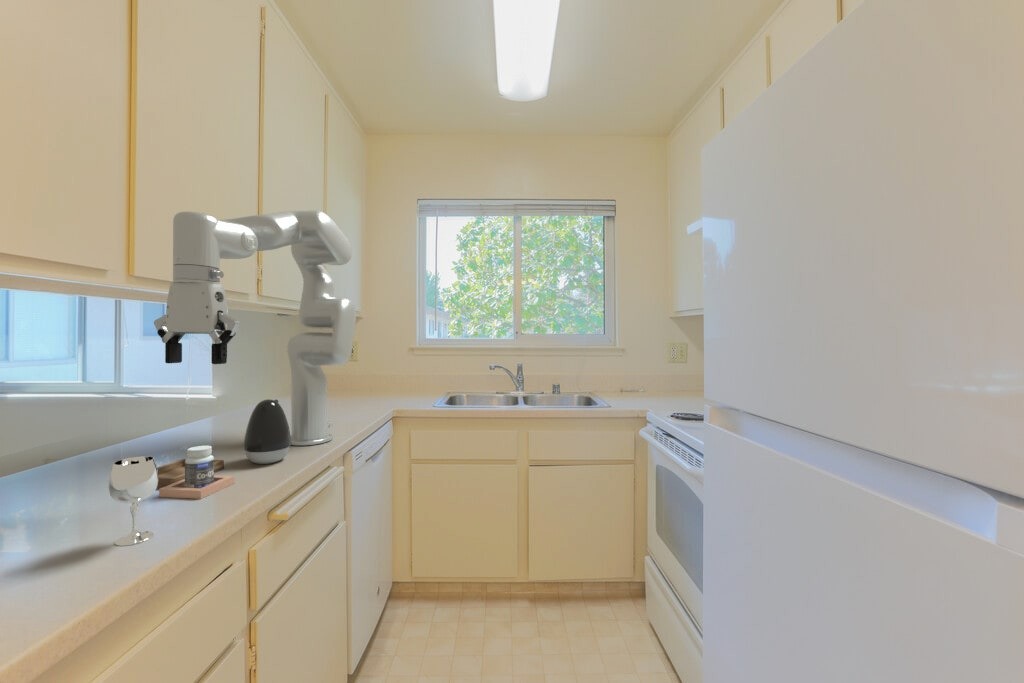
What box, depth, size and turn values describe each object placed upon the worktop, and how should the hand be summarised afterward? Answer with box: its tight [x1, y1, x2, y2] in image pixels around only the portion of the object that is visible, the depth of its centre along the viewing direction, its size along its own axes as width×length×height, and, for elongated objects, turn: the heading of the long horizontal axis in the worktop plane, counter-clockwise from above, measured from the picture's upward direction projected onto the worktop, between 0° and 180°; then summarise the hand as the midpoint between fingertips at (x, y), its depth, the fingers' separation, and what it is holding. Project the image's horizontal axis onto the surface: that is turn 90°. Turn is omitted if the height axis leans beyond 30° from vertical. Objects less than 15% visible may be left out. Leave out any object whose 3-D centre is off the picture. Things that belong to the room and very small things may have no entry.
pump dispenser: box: [243, 399, 292, 465], centre depth 106 cm, size 10×10×15 cm
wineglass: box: [108, 455, 159, 547], centre depth 66 cm, size 6×6×12 cm
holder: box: [158, 474, 235, 500], centre depth 87 cm, size 9×9×2 cm
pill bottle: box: [185, 445, 215, 488], centre depth 87 cm, size 5×5×8 cm
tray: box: [157, 458, 225, 489], centre depth 94 cm, size 13×10×2 cm
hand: (196, 363), depth 86 cm, fingers open, 9 cm apart
